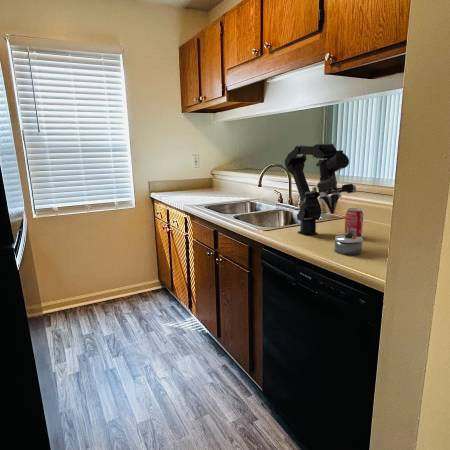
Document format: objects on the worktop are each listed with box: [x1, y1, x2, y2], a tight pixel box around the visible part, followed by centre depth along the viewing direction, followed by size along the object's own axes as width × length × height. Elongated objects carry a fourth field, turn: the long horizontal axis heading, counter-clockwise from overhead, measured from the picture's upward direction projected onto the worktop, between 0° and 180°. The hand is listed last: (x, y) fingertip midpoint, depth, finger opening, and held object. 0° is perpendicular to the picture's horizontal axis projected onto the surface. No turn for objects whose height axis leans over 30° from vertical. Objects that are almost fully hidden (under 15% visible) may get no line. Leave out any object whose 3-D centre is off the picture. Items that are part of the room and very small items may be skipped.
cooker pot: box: [334, 239, 363, 257], centre depth 124 cm, size 9×9×4 cm
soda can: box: [344, 207, 364, 237], centre depth 144 cm, size 7×7×12 cm
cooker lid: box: [334, 232, 364, 243], centre depth 123 cm, size 10×10×3 cm
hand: (332, 213), depth 132 cm, fingers closed
